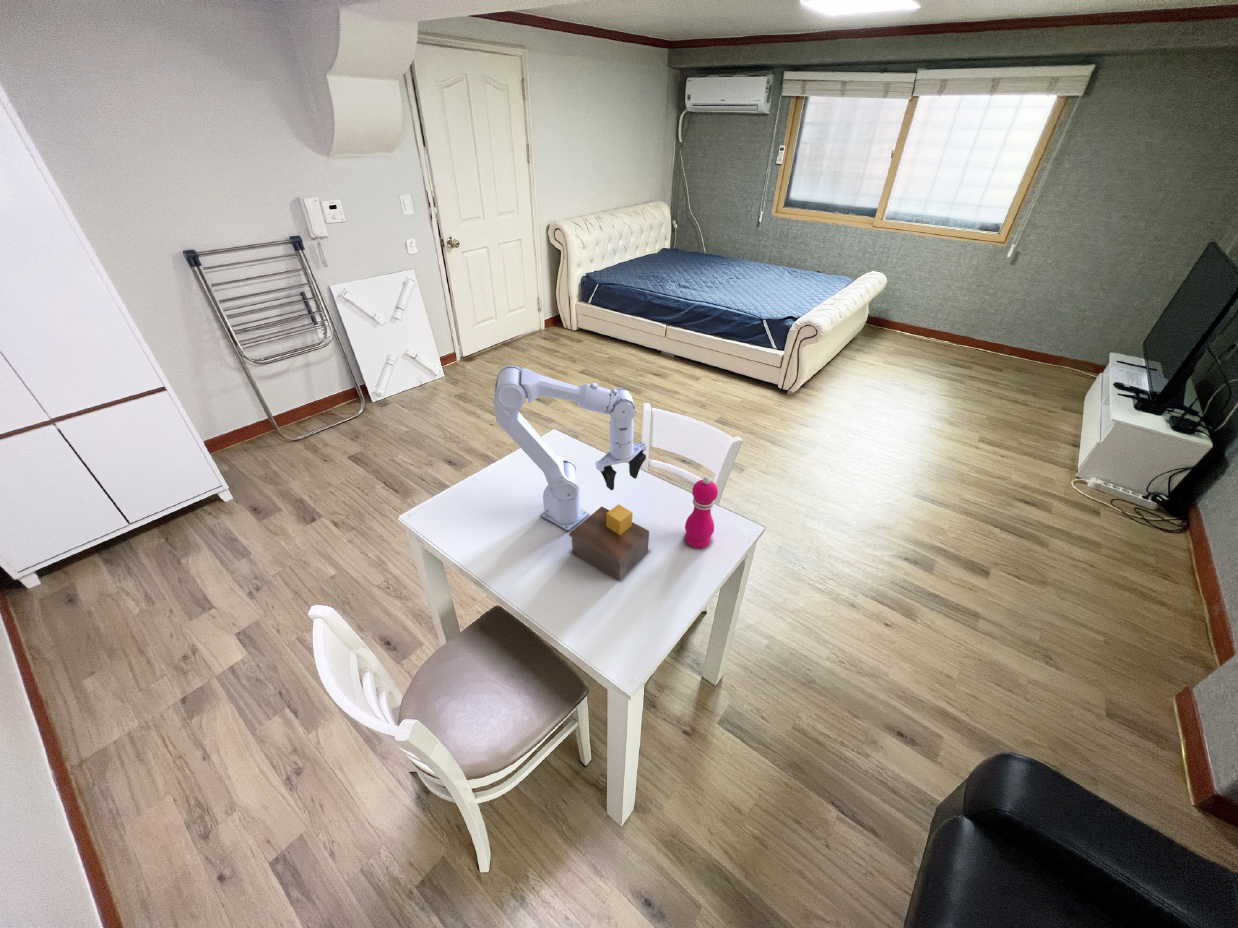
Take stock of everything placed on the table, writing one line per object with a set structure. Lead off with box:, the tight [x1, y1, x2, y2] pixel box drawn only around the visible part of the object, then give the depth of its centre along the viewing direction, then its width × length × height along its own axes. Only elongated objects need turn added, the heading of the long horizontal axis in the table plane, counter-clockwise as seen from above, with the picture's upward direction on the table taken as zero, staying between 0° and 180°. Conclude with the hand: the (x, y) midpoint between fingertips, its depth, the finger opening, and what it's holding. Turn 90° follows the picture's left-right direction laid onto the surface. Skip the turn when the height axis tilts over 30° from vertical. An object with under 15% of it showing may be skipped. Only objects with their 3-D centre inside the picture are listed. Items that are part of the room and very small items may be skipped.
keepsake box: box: [571, 533, 650, 581], centre depth 119 cm, size 12×15×6 cm
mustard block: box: [606, 503, 633, 535], centre depth 117 cm, size 4×4×4 cm
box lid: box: [568, 506, 650, 564], centre depth 116 cm, size 12×15×1 cm
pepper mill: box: [684, 476, 719, 549], centre depth 119 cm, size 7×7×20 cm
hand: (621, 482), depth 126 cm, fingers open, 7 cm apart
